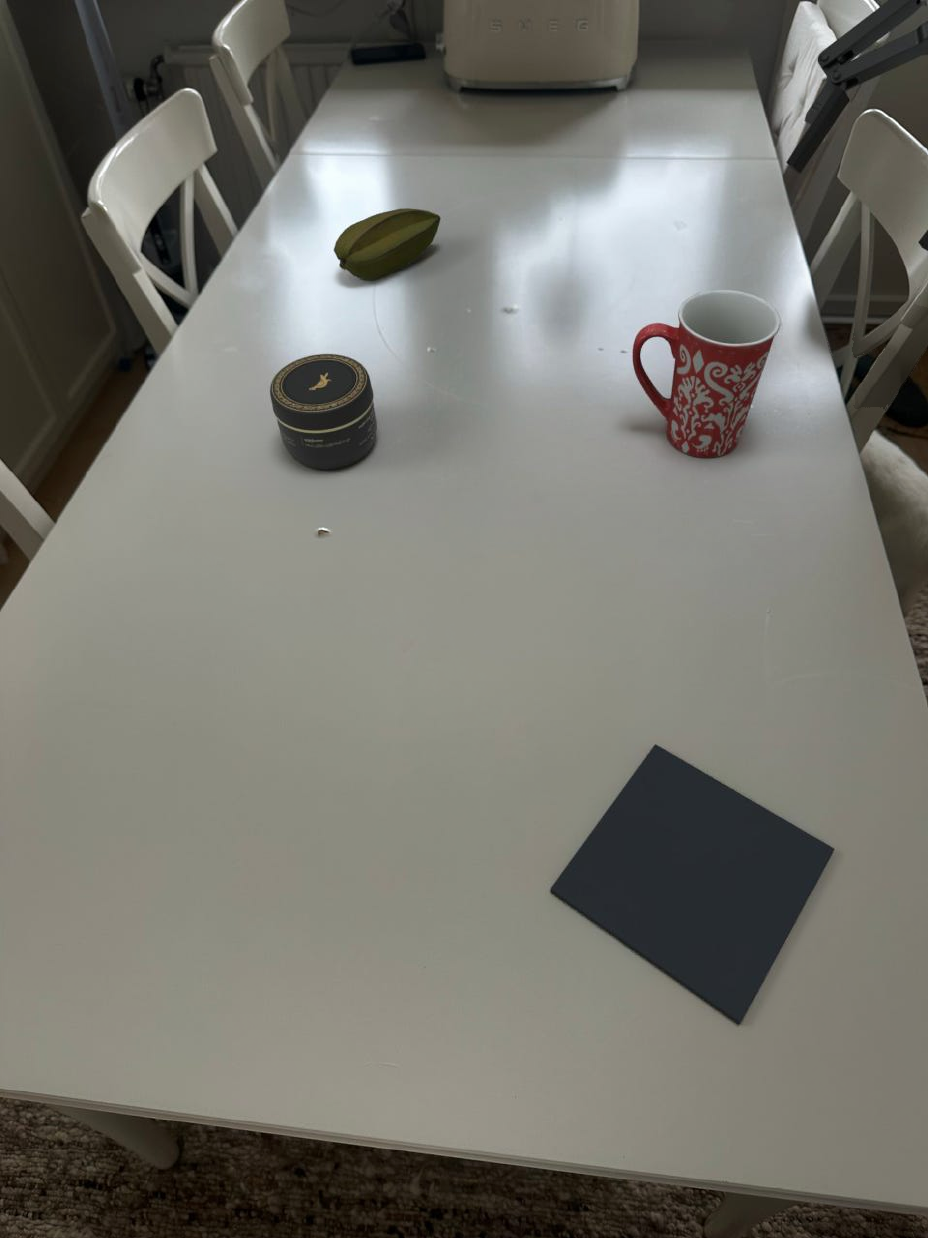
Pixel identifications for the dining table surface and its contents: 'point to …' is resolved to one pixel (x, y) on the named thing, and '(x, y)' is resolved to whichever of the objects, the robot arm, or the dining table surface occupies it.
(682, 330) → the mug
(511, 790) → the dining table surface
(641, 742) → the dining table surface
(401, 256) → the fruit
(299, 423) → the jar
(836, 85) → the robot arm
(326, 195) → the dining table surface
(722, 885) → the mat
